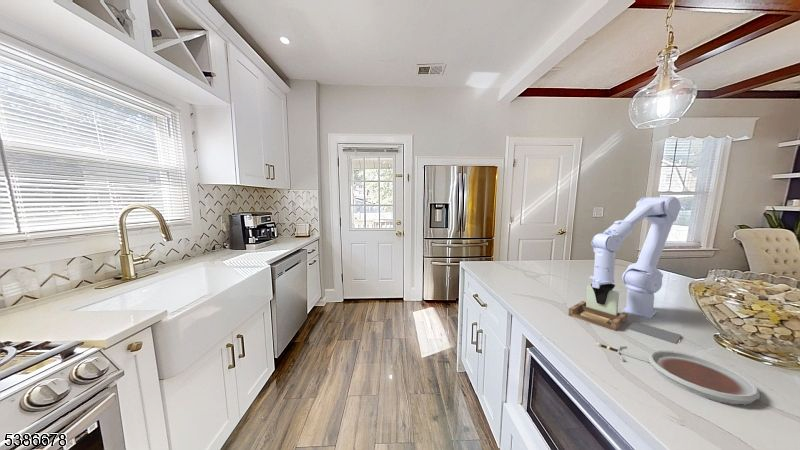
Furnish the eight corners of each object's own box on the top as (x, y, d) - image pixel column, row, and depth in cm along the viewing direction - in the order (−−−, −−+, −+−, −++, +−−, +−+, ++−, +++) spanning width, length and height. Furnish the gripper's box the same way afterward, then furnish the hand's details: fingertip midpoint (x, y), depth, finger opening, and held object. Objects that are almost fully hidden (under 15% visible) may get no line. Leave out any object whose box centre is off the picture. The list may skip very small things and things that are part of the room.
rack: (582, 308, 99) (582, 301, 99) (626, 321, 88) (627, 313, 88) (568, 316, 93) (568, 308, 92) (615, 331, 81) (615, 323, 81)
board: (587, 307, 96) (588, 285, 96) (617, 316, 89) (619, 292, 88) (585, 308, 96) (587, 285, 95) (615, 317, 88) (617, 292, 87)
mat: (634, 322, 87) (634, 321, 87) (681, 336, 78) (681, 334, 78) (626, 329, 83) (627, 327, 83) (675, 345, 74) (675, 343, 74)
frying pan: (600, 329, 80) (750, 368, 60) (600, 337, 80) (749, 380, 60) (590, 351, 68) (772, 410, 48) (589, 361, 68) (770, 424, 48)
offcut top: (583, 314, 93) (583, 311, 93) (609, 322, 87) (609, 319, 87) (580, 317, 91) (580, 314, 91) (606, 325, 85) (606, 322, 85)
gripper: (598, 261, 98) (596, 295, 99) (582, 267, 90) (580, 304, 91) (621, 265, 92) (619, 301, 93) (607, 272, 84) (604, 311, 85)
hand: (601, 303), depth 92 cm, fingers closed on board, 1 cm apart
